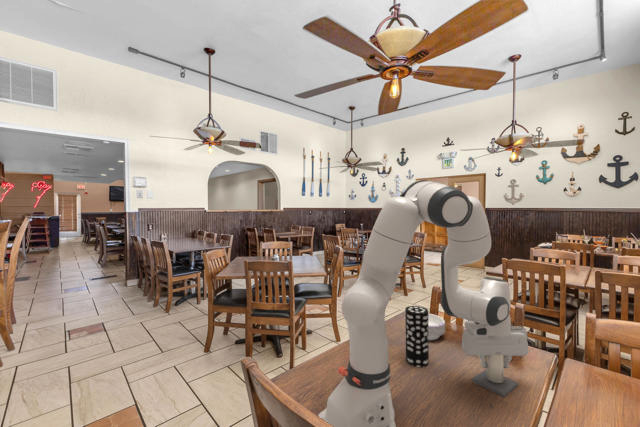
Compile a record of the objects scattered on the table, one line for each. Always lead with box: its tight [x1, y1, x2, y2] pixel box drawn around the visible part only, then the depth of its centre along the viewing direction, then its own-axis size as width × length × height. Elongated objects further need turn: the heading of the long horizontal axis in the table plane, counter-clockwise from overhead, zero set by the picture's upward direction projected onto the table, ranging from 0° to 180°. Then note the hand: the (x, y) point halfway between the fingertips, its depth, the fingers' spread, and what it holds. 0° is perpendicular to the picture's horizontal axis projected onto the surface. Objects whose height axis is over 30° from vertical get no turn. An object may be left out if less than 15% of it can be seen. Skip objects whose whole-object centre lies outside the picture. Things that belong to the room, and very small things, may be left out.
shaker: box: [485, 352, 505, 383], centre depth 97 cm, size 5×5×10 cm
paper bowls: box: [428, 312, 446, 341], centre depth 134 cm, size 15×15×8 cm
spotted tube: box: [404, 305, 430, 368], centre depth 112 cm, size 8×8×20 cm
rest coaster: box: [471, 369, 519, 398], centre depth 98 cm, size 10×10×1 cm
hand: (494, 367), depth 97 cm, fingers open, 5 cm apart
